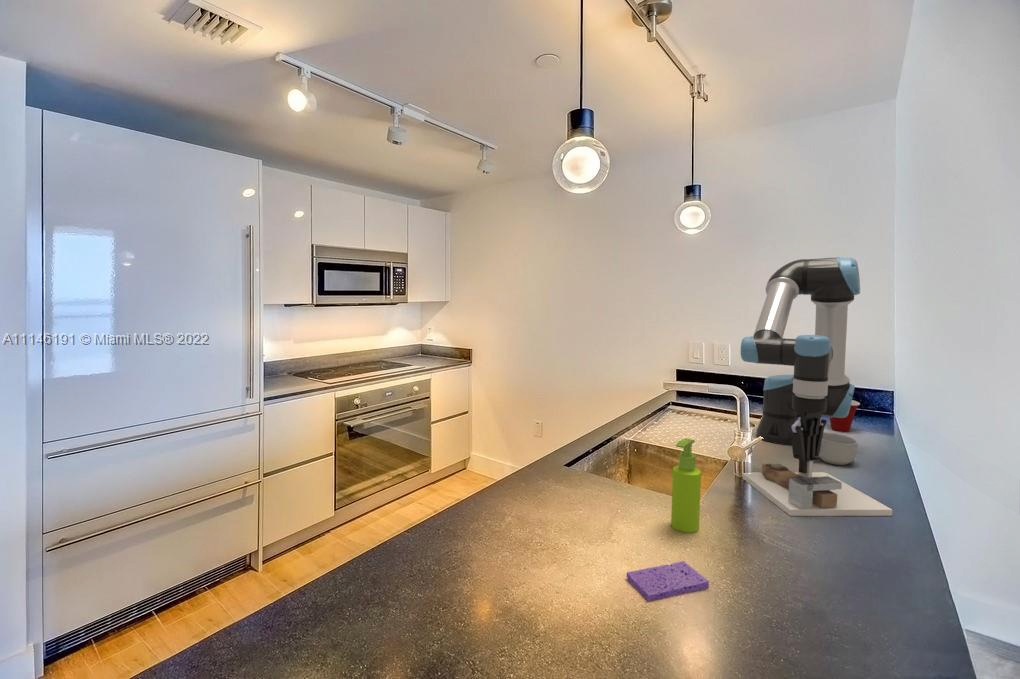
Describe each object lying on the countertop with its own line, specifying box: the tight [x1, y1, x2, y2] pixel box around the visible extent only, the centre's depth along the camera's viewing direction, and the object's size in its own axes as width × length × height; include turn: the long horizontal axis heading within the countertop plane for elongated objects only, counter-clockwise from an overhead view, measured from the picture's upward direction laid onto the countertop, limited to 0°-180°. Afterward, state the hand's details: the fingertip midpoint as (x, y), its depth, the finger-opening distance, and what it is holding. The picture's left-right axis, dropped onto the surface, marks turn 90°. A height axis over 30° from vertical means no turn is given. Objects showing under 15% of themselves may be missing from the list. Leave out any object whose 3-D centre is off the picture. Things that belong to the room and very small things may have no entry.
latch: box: [761, 462, 837, 508], centre depth 121 cm, size 21×6×4 cm, turn 8°
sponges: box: [626, 560, 710, 602], centre depth 84 cm, size 7×13×2 cm, turn 107°
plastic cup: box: [829, 399, 861, 433], centre depth 181 cm, size 11×11×12 cm
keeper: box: [788, 476, 843, 509], centre depth 113 cm, size 4×10×7 cm, turn 98°
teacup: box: [818, 431, 859, 466], centre depth 146 cm, size 14×11×8 cm
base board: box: [742, 471, 893, 517], centre depth 122 cm, size 24×24×2 cm
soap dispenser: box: [670, 438, 702, 534], centre depth 104 cm, size 6×7×20 cm
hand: (804, 483), depth 122 cm, fingers closed
